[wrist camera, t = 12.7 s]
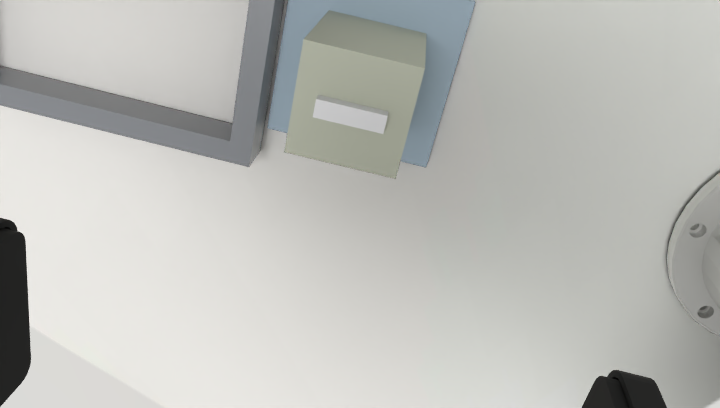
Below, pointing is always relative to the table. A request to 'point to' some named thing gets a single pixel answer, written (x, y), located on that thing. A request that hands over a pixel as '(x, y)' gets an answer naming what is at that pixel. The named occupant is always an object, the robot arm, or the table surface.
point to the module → (356, 93)
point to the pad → (394, 7)
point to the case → (163, 122)
